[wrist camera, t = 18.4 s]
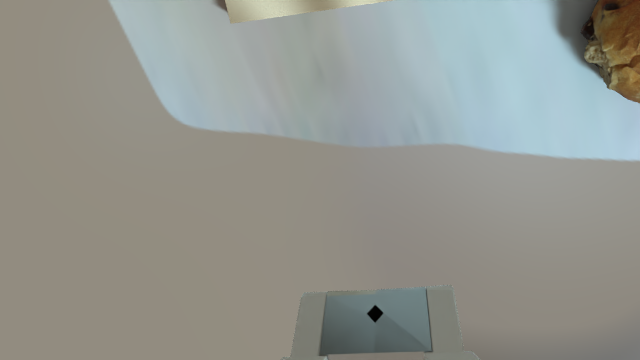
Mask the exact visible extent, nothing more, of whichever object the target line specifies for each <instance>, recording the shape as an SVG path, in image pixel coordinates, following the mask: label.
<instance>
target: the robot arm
mask: <svg viewBox="0 0 640 360" xmlns="http://www.w3.org/2000/svg"><path fill="white" fill-rule="evenodd" d="M281 360H480V359H479V358H478V357H477V356H476V355H475V354H474V353H473V352H471V351H469V352H468V351H464V347H463V341H462V335H461V329H460V324H459V318H458V312H457V306H456V300H455V294H454V288H453V287H452V286H451V285H443V286H428V287H426V288H425V287H414V288H397V289H381V290H361V291H330V292H314V293H313V292H310V293H308V292H307V293H304V294H303V295H302V297H301V300H300V306H299V312H298V317H297V323H296V328H295V334H294V339H293V345H292V351H291V356H290V357H283V358H282V359H281Z"/></svg>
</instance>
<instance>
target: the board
mask: <svg viewBox="0 0 640 360" xmlns="http://www.w3.org/2000/svg"><path fill="white" fill-rule="evenodd" d="M385 1H392V0H225V3H226V7H227V10H228V14H229V18H230V22H231V23H238V22H245V21H252V20H259V19H266V18H273V17H280V16H287V15H294V14H301V13H308V12H315V11H322V10H329V9H336V8H343V7H350V6H357V5H364V4H371V3H378V2H385Z"/></svg>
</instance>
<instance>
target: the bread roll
mask: <svg viewBox="0 0 640 360" xmlns="http://www.w3.org/2000/svg"><path fill="white" fill-rule="evenodd" d="M581 34H582V35H583V36H584V37H585V38H586V39H588V43H589V44H588V45H587V46H586V48H585V49H586V51H585V53H584V58H585V59H586V61H587V62H588V63H593V64H595V65H597V66H598V67H599V69H600V75H601V77H602V78H603V81H604V82H605V83H606V85H607V88H608V89H612V90H614V91H616V92H618V93H619V94H621V95H622V96H623V97H625V98H627V99H629V100H632V101H634V102H638V103H640V0H599V1H598V2H597V4H596V6H595V8H594V10H593V12H592V16H591V17H590V19H589V20H588V21H587V22H586V23H585V24H584V26H583V27H582V29H581Z"/></svg>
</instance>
